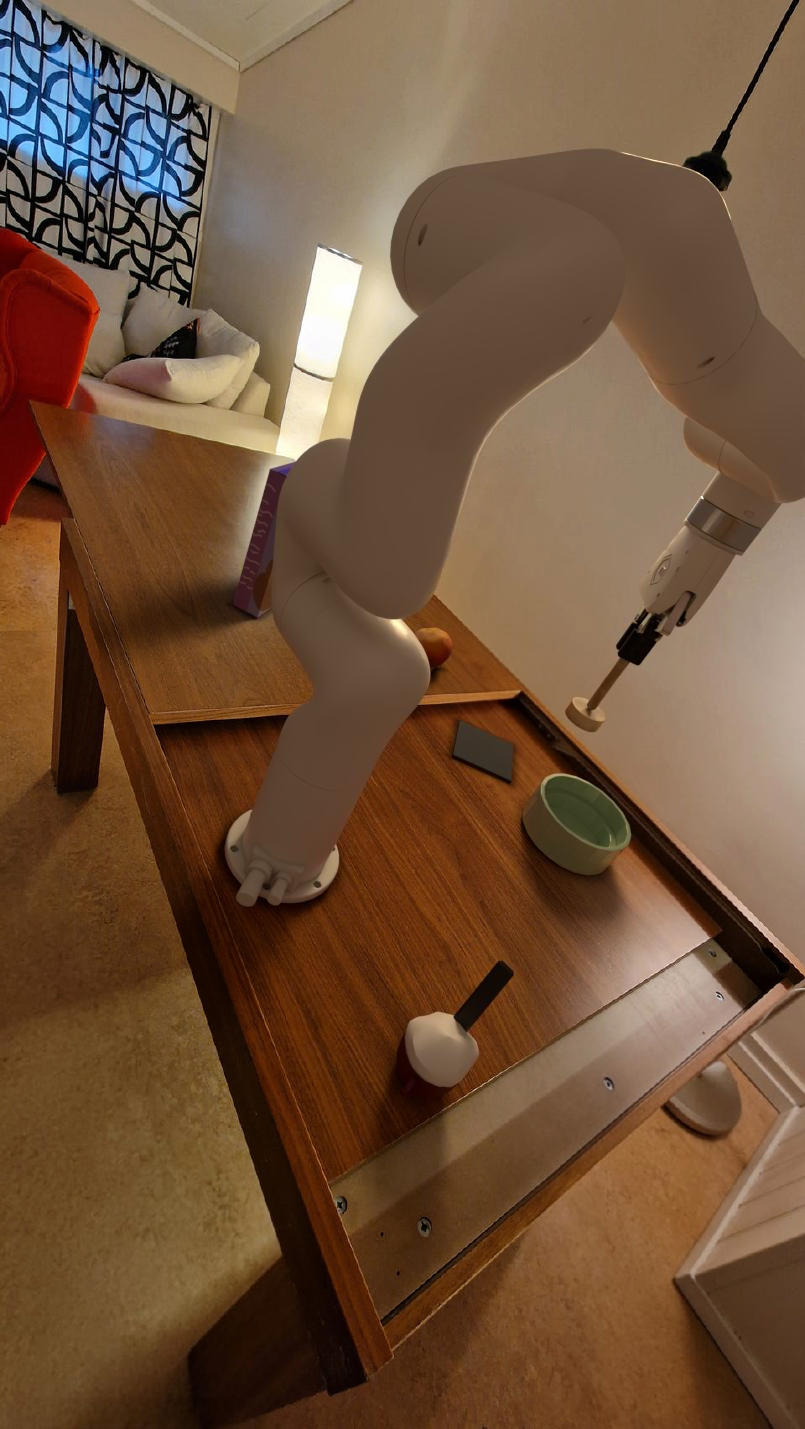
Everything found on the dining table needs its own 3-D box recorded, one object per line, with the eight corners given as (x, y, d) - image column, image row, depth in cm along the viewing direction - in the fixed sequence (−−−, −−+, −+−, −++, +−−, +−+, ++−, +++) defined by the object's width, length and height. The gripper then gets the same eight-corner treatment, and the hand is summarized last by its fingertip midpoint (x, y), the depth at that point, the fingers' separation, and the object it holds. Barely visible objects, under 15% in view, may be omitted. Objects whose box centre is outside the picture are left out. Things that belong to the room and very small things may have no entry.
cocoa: (396, 1124, 52) (457, 1061, 46) (365, 1050, 56) (418, 981, 49) (480, 1083, 58) (545, 1022, 51) (447, 1018, 62) (504, 953, 55)
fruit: (441, 679, 110) (439, 634, 107) (403, 675, 114) (399, 633, 111) (460, 666, 116) (458, 624, 114) (423, 663, 120) (420, 622, 117)
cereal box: (257, 618, 104) (298, 482, 91) (232, 605, 105) (270, 467, 91) (302, 588, 119) (343, 467, 106) (280, 576, 119) (318, 454, 106)
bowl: (611, 893, 86) (637, 866, 83) (519, 851, 85) (541, 823, 82) (602, 824, 98) (624, 798, 94) (521, 787, 97) (540, 760, 93)
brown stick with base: (599, 737, 85) (675, 638, 76) (565, 721, 84) (637, 619, 75) (596, 718, 89) (668, 622, 80) (564, 702, 89) (632, 604, 80)
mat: (510, 782, 97) (511, 780, 96) (452, 756, 96) (453, 754, 96) (512, 746, 105) (513, 744, 105) (458, 721, 104) (459, 719, 104)
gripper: (679, 497, 77) (596, 620, 87) (706, 530, 64) (605, 671, 74) (732, 524, 77) (644, 644, 87) (770, 562, 64) (661, 698, 74)
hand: (627, 655), depth 81 cm, fingers closed on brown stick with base, 1 cm apart
